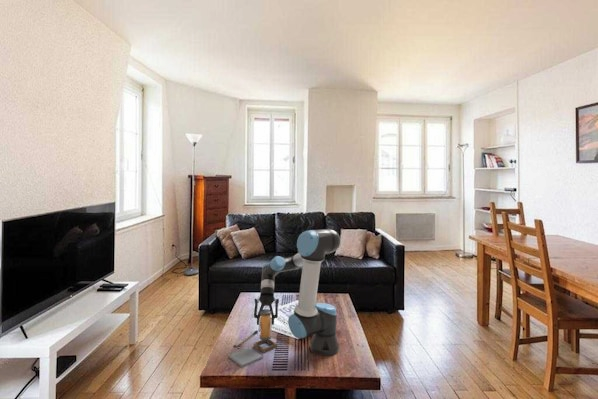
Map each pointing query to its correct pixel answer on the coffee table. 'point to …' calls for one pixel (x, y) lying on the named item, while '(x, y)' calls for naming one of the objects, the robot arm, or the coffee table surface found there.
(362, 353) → the coffee table surface
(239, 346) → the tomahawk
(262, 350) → the square wooden frame
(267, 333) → the orange grey capped cylinder
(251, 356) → the rubber mat
